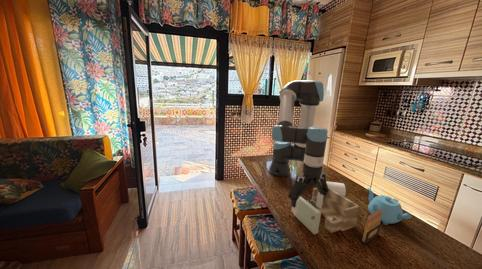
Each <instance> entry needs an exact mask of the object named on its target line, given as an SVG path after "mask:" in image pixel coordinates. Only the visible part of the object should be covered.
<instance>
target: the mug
mask: <svg viewBox="0 0 482 269" xmlns="http://www.w3.org/2000/svg"><path fill="white" fill-rule="evenodd" d="M326 183H327V186H328V188H330V189H332V190H333V191H335V192H337V193H338V194H340V195H342V196H343V197H345V198H346V191H347V189H346V185H345V183H343V182H334V181H327V180H326Z"/></svg>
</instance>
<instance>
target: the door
mask: <svg viewBox="0 0 482 269" xmlns="http://www.w3.org/2000/svg"><path fill="white" fill-rule="evenodd" d="M298 201H299V203H298V211H297V215H295V214H294V213H292V214H293V215H294V217H295V218H297V220H298V221H300V223H302V224H303V225H304V227H306V228H307V229H308V230H309V231H310V232H311V233H312V234H313V235H316V234H319V227H320V222H321V218H322V217H321V216H322V215H321V212H320V211H319V210H318V209H316V208H315V207H314V206H312V205H311V204H310V203H309V202H307V200H306V199H304V198H303V197H302V196H300V197H299V198H298Z"/></svg>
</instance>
